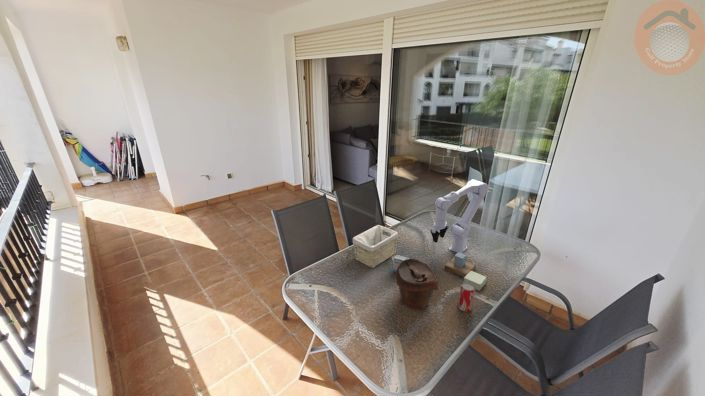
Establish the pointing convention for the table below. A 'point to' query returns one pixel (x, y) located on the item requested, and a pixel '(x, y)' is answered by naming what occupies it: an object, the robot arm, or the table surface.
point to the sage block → (475, 280)
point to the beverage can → (466, 297)
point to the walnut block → (458, 270)
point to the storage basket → (375, 245)
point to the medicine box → (398, 261)
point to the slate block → (460, 259)
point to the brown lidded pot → (415, 283)
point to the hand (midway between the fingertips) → (438, 239)
